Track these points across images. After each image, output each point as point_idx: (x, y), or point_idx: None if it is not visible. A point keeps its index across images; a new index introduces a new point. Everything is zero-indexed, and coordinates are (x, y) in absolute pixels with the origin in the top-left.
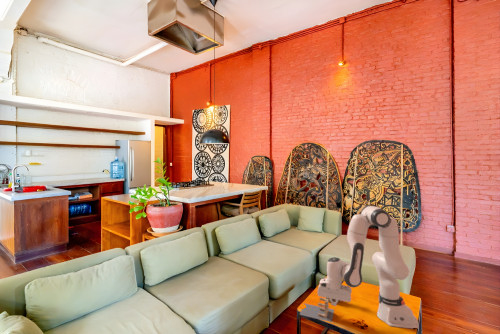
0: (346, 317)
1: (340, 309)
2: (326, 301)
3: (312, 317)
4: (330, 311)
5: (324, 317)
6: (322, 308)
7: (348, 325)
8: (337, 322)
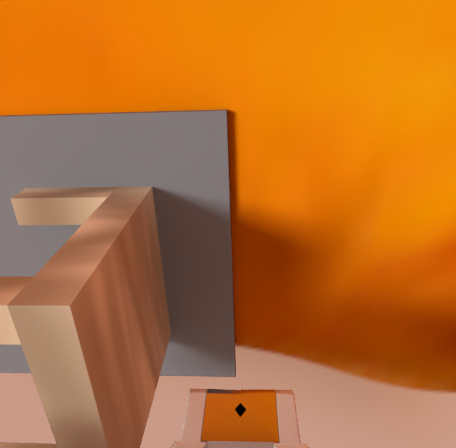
0: (414, 228)
1: (333, 33)
2: (67, 404)
3: (25, 372)
4: (181, 185)
5: None
6: (55, 209)
7: (416, 362)
8: (294, 353)
